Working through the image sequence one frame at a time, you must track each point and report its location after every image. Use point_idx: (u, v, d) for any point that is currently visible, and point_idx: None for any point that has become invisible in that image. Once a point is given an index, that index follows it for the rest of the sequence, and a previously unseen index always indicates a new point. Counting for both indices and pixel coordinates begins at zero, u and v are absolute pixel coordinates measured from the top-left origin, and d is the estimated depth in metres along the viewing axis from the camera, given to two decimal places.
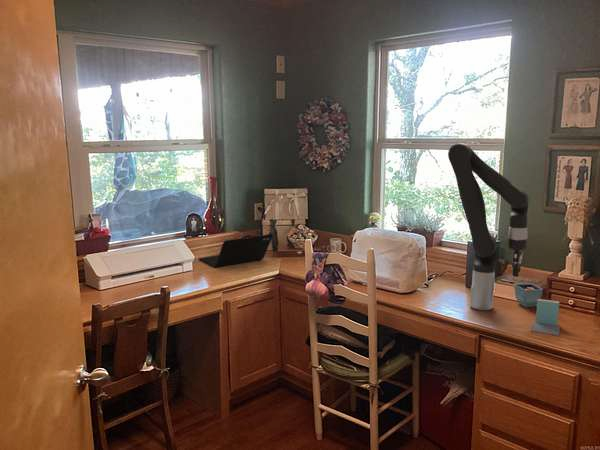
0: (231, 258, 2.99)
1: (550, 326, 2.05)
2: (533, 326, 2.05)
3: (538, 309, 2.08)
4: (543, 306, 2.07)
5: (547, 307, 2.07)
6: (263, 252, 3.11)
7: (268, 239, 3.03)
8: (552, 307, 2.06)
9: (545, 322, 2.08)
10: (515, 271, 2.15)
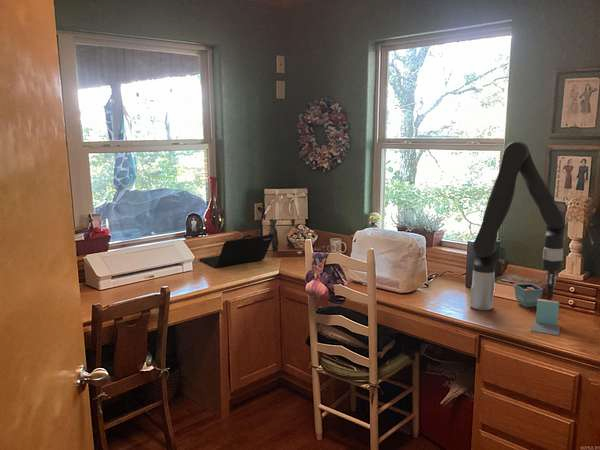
0: (232, 258, 2.98)
1: (550, 326, 2.05)
2: (533, 326, 2.05)
3: (538, 309, 2.08)
4: (543, 306, 2.07)
5: (547, 307, 2.07)
6: (264, 252, 3.10)
7: (269, 239, 3.02)
8: (552, 307, 2.06)
9: (545, 322, 2.08)
10: (550, 293, 2.12)
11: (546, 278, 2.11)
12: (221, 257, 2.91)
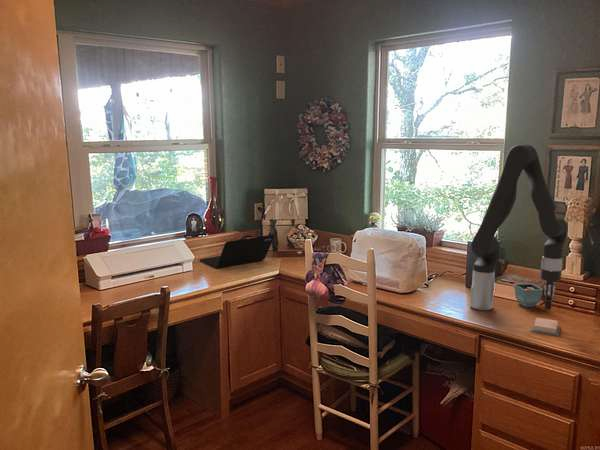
0: (232, 259, 2.97)
1: None
2: (533, 326, 2.05)
3: None
4: None
5: None
6: (264, 253, 3.09)
7: (270, 240, 3.01)
8: None
9: None
10: (548, 304, 2.04)
11: None
12: (222, 257, 2.90)
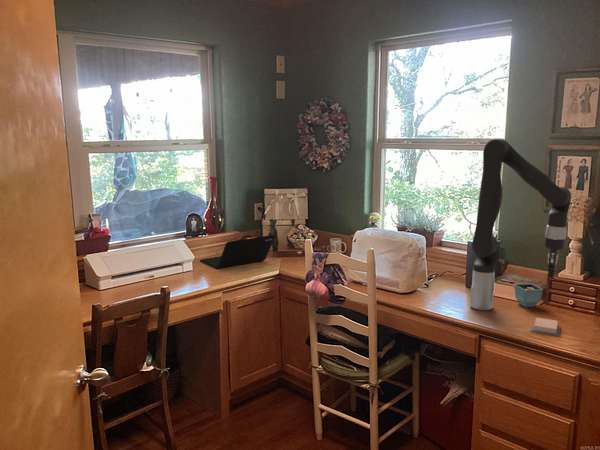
0: (233, 259, 2.96)
1: None
2: (533, 326, 2.05)
3: None
4: None
5: None
6: (265, 253, 3.08)
7: (270, 240, 3.01)
8: None
9: None
10: (551, 272, 2.07)
11: (548, 257, 2.06)
12: (223, 258, 2.90)
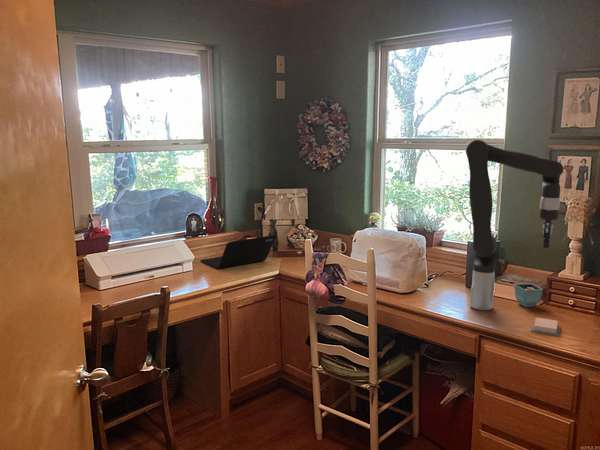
0: (234, 259, 2.95)
1: None
2: (533, 326, 2.05)
3: None
4: None
5: None
6: (266, 253, 3.07)
7: (271, 240, 3.00)
8: None
9: None
10: (546, 242, 2.16)
11: (543, 227, 2.16)
12: (223, 258, 2.89)
